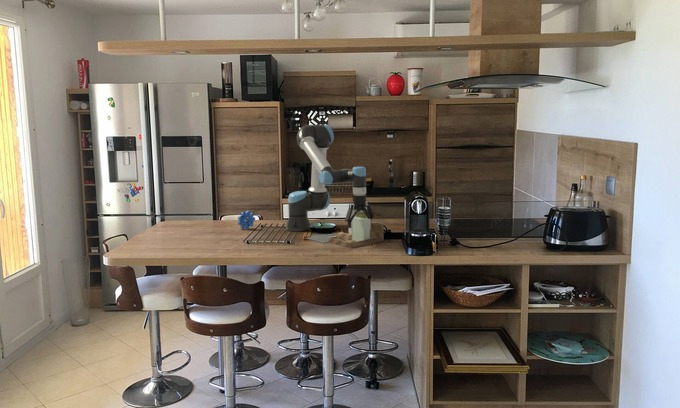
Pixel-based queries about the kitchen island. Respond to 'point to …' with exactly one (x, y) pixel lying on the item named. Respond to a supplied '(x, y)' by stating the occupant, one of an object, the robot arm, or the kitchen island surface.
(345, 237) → the offcut short
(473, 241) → the kitchen island surface
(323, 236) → the mat
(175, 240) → the kitchen island surface
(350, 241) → the block
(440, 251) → the kitchen island surface
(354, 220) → the tall block
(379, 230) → the rack
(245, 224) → the blue knobby thick disc
